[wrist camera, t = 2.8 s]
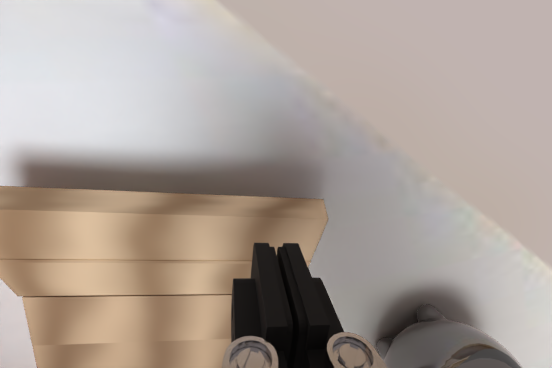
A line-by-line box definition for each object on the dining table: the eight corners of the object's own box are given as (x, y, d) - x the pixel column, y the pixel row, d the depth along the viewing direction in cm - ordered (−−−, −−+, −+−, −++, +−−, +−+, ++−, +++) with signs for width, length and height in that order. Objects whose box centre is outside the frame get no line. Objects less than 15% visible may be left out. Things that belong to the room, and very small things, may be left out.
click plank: (323, 199, 19) (328, 220, 18) (294, 275, 26) (297, 294, 25) (-47, 184, 16) (-70, 208, 15) (29, 275, 22) (17, 297, 21)
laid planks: (292, 274, 26) (296, 286, 25) (281, 355, 29) (284, 370, 28) (33, 274, 23) (20, 288, 22) (51, 365, 26) (40, 383, 25)
